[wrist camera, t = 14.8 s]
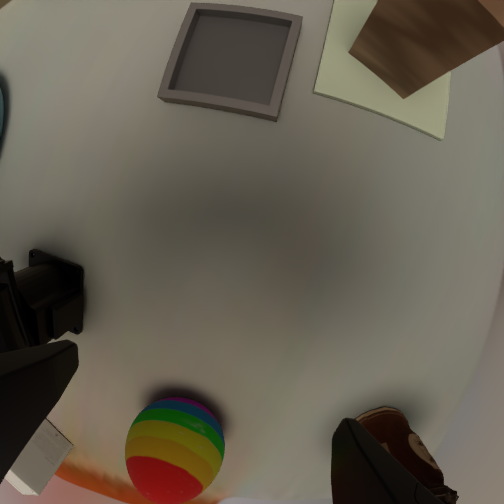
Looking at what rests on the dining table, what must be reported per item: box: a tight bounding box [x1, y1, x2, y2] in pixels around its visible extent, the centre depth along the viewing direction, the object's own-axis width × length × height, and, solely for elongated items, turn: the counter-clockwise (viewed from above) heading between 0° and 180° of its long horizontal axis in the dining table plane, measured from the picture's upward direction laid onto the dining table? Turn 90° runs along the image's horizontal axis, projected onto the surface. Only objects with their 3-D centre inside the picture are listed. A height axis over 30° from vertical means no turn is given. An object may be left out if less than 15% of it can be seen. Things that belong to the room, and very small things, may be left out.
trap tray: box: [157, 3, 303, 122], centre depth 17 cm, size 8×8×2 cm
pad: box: [313, 0, 451, 141], centre depth 16 cm, size 10×10×1 cm
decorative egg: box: [125, 397, 225, 504], centre depth 20 cm, size 8×8×10 cm
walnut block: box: [348, 0, 504, 99], centre depth 10 cm, size 5×5×12 cm
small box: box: [4, 419, 73, 495], centre depth 23 cm, size 8×6×10 cm
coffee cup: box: [356, 407, 459, 504], centre depth 17 cm, size 9×8×13 cm
